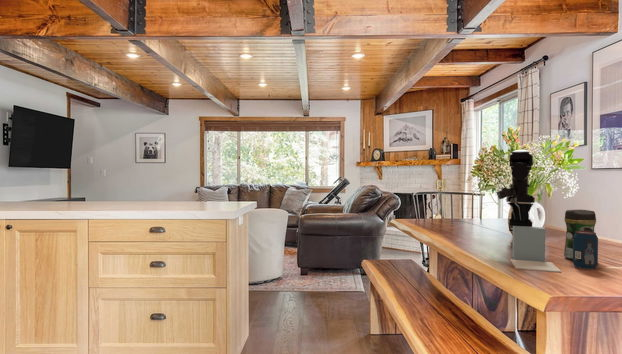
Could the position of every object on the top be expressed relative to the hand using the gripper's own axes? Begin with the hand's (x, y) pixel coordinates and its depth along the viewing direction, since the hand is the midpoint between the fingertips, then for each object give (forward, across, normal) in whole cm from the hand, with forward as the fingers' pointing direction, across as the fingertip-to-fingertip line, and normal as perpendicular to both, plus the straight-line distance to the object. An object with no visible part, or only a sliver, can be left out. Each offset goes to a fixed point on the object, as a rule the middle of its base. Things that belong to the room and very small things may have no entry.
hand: (519, 220), depth 160 cm
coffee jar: (+13, +7, +19) cm, 24 cm away
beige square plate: (+14, +24, -1) cm, 28 cm away
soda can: (+14, +21, +15) cm, 30 cm away
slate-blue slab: (+14, +14, 0) cm, 19 cm away
